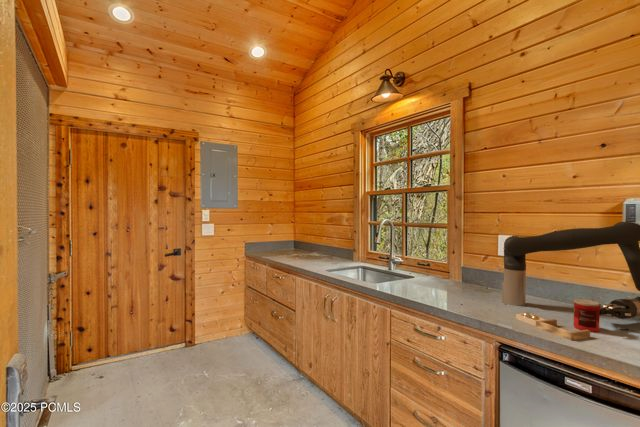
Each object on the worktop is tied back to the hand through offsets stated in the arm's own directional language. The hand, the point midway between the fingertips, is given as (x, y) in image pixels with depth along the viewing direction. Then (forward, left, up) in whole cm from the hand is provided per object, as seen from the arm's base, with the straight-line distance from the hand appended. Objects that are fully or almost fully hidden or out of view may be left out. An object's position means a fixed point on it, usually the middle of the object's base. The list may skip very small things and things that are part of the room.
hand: (596, 311), depth 129 cm
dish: (-12, -19, -7) cm, 23 cm away
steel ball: (-14, -19, -6) cm, 24 cm away
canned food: (0, -6, -7) cm, 9 cm away
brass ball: (-11, -19, -6) cm, 22 cm away
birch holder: (0, -18, -7) cm, 19 cm away
